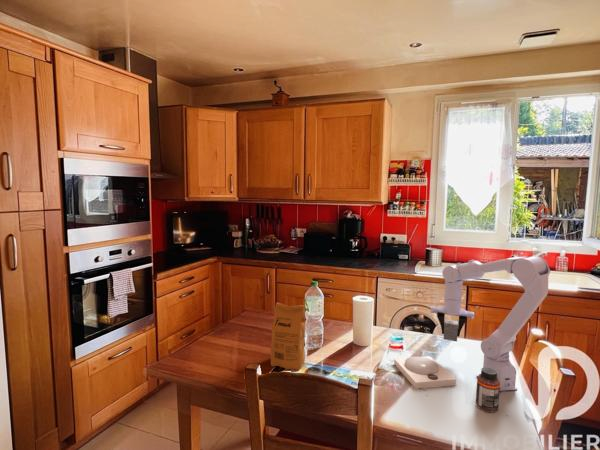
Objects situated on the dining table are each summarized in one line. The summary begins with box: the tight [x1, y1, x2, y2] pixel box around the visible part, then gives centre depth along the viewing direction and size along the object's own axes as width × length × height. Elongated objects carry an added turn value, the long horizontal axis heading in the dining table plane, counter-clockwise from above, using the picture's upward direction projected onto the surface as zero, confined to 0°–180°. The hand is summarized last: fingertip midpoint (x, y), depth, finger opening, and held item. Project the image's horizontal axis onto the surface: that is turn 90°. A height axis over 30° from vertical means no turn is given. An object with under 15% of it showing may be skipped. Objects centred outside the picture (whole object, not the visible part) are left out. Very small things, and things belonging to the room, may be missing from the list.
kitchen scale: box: [393, 355, 457, 390], centre depth 122 cm, size 16×14×3 cm
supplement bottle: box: [475, 367, 501, 413], centre depth 104 cm, size 6×6×11 cm
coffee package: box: [270, 301, 306, 371], centre depth 127 cm, size 10×12×22 cm
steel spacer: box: [443, 318, 459, 342], centre depth 130 cm, size 4×4×6 cm
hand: (450, 334), depth 131 cm, fingers closed on steel spacer, 4 cm apart
